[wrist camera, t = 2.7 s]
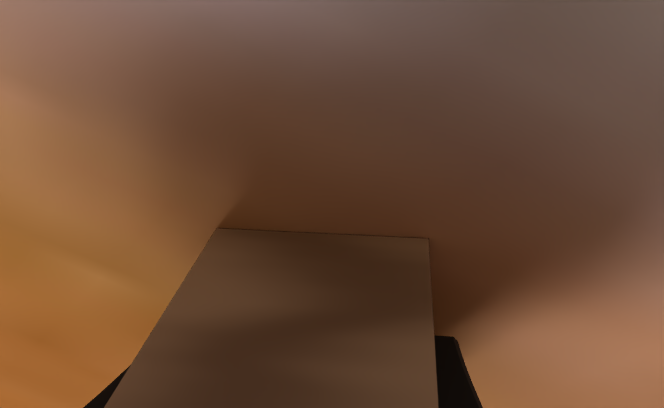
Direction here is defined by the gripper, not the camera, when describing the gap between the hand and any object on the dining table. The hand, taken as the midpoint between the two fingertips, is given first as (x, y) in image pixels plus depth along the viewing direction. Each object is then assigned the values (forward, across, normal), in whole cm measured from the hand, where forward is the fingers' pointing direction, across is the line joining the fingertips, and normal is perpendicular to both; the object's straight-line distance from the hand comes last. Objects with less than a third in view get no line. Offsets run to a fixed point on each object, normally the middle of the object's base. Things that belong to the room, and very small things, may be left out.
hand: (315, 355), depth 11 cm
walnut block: (+1, 0, 0) cm, 1 cm away
